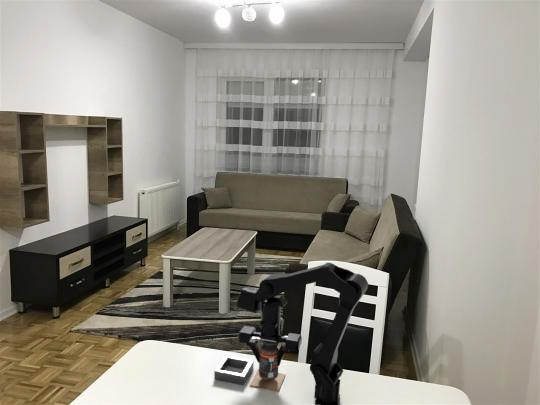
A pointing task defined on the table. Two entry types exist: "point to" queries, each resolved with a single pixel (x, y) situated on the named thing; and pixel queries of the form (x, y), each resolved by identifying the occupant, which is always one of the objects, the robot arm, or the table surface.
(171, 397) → the table surface
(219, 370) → the collar
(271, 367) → the supplement bottle
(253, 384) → the pad
